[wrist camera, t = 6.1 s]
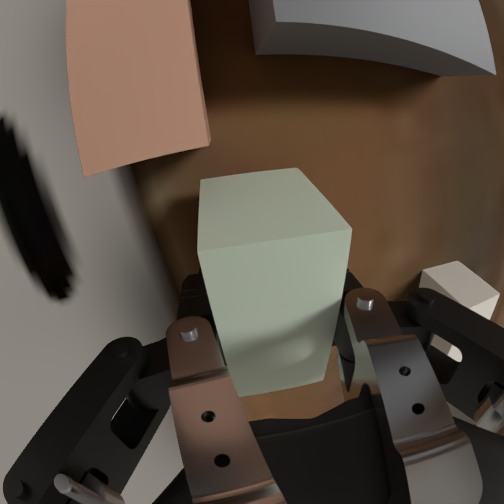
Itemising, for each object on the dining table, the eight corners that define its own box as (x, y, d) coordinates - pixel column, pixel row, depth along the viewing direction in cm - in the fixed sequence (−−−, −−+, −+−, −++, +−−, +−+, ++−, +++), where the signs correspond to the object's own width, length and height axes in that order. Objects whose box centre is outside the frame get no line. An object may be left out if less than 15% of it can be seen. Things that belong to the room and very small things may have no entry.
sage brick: (200, 179, 10) (197, 251, 6) (297, 167, 10) (352, 229, 6) (226, 316, 14) (236, 397, 10) (295, 304, 14) (322, 380, 10)
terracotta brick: (111, 16, 7) (69, -24, 3) (190, -6, 8) (181, -61, 3) (129, 158, 10) (84, 177, 6) (211, 139, 11) (208, 146, 7)
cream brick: (421, 268, 15) (466, 309, 11) (456, 259, 15) (499, 293, 11) (400, 349, 18) (428, 391, 14) (433, 336, 18) (462, 373, 14)
